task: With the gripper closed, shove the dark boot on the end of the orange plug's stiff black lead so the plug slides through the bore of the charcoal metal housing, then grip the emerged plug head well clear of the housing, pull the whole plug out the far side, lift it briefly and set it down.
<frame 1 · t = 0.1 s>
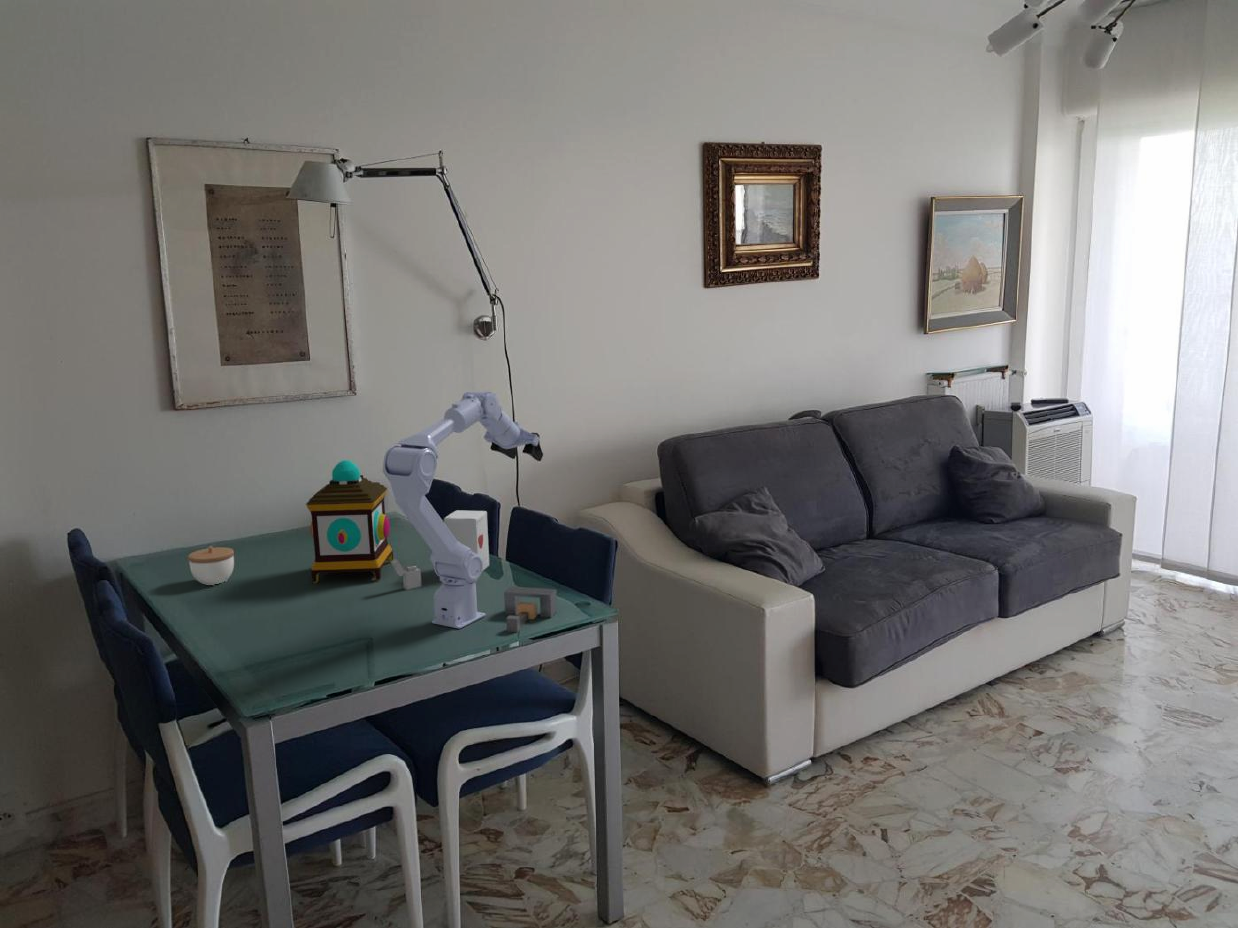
hand: (527, 456, 230), 32 cm above the table, tool tilted 50°, fingers open, 7 cm apart
decorative lantern: (354, 573, 249), on the table
supplement box: (468, 570, 249), on the table
housing: (531, 613, 215), on the table
lidded jar: (214, 582, 244), on the table
plug: (527, 616, 213), on the table
lighter: (407, 589, 235), on the table
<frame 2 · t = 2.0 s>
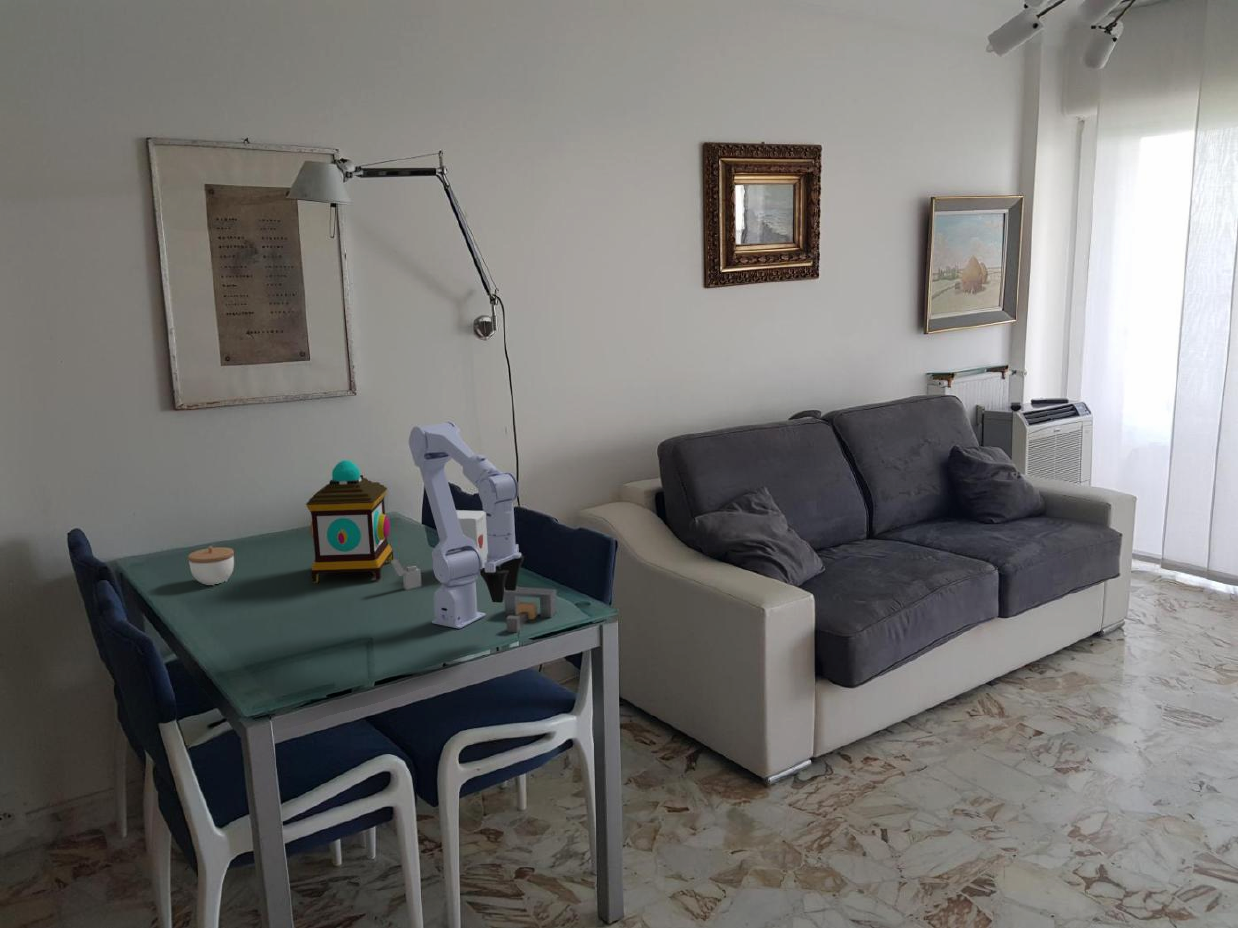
hand: (504, 595, 198), 10 cm above the table, tool pointing down, fingers open, 7 cm apart
nothing on the table moved.
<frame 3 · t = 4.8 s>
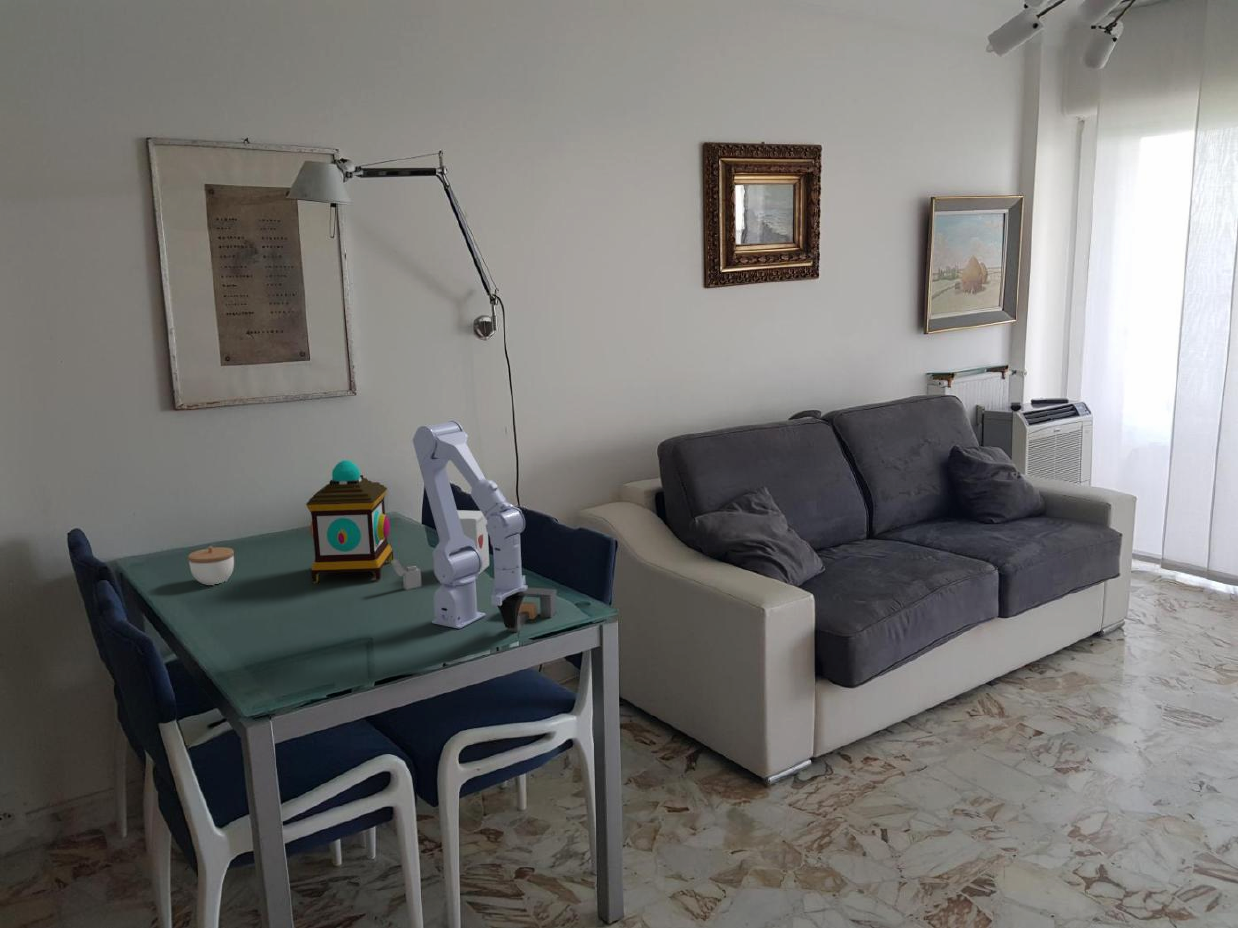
hand: (510, 626, 203), 1 cm above the table, tool pointing down, fingers closed
plug: (527, 616, 213), on the table, touching gripper
everything else where it was.
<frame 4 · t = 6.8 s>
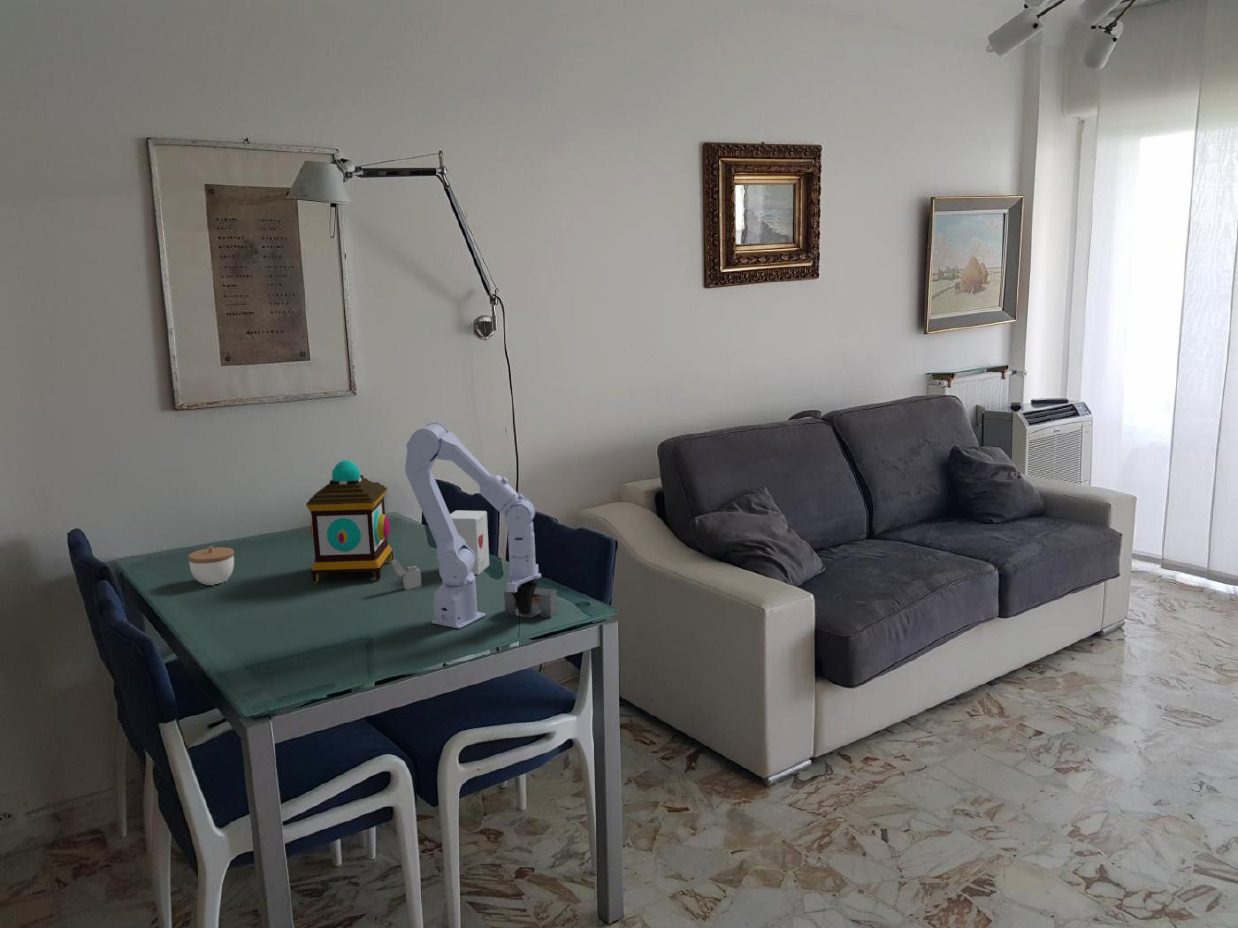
hand: (524, 613, 211), 1 cm above the table, tool pointing down, fingers closed
plug: (540, 603, 221), on the table, touching gripper
everything else where it was.
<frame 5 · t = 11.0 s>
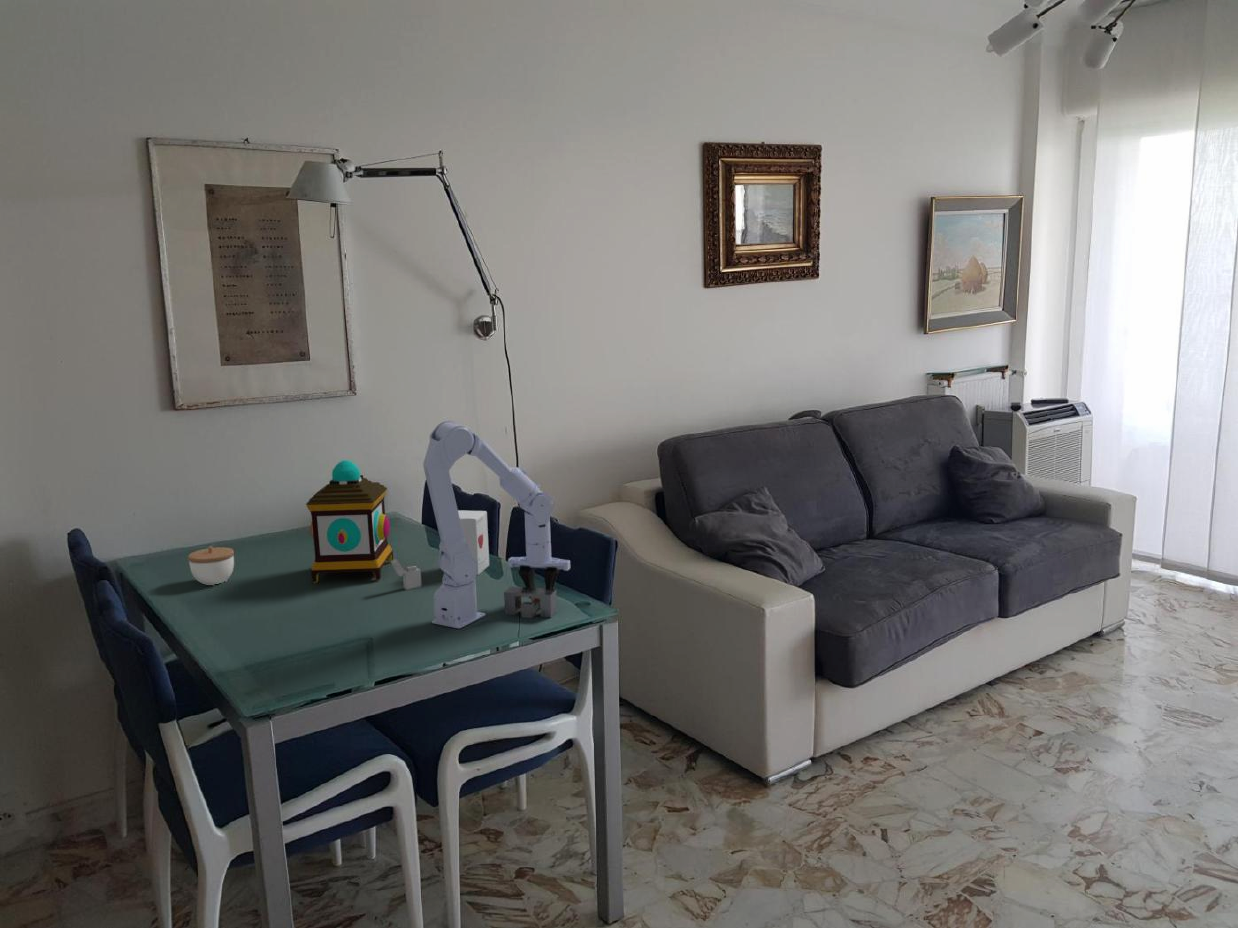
hand: (540, 597, 221), 1 cm above the table, tool pointing down, fingers closed on plug, 4 cm apart
plug: (540, 603, 221), on the table, touching gripper
everything else where it was.
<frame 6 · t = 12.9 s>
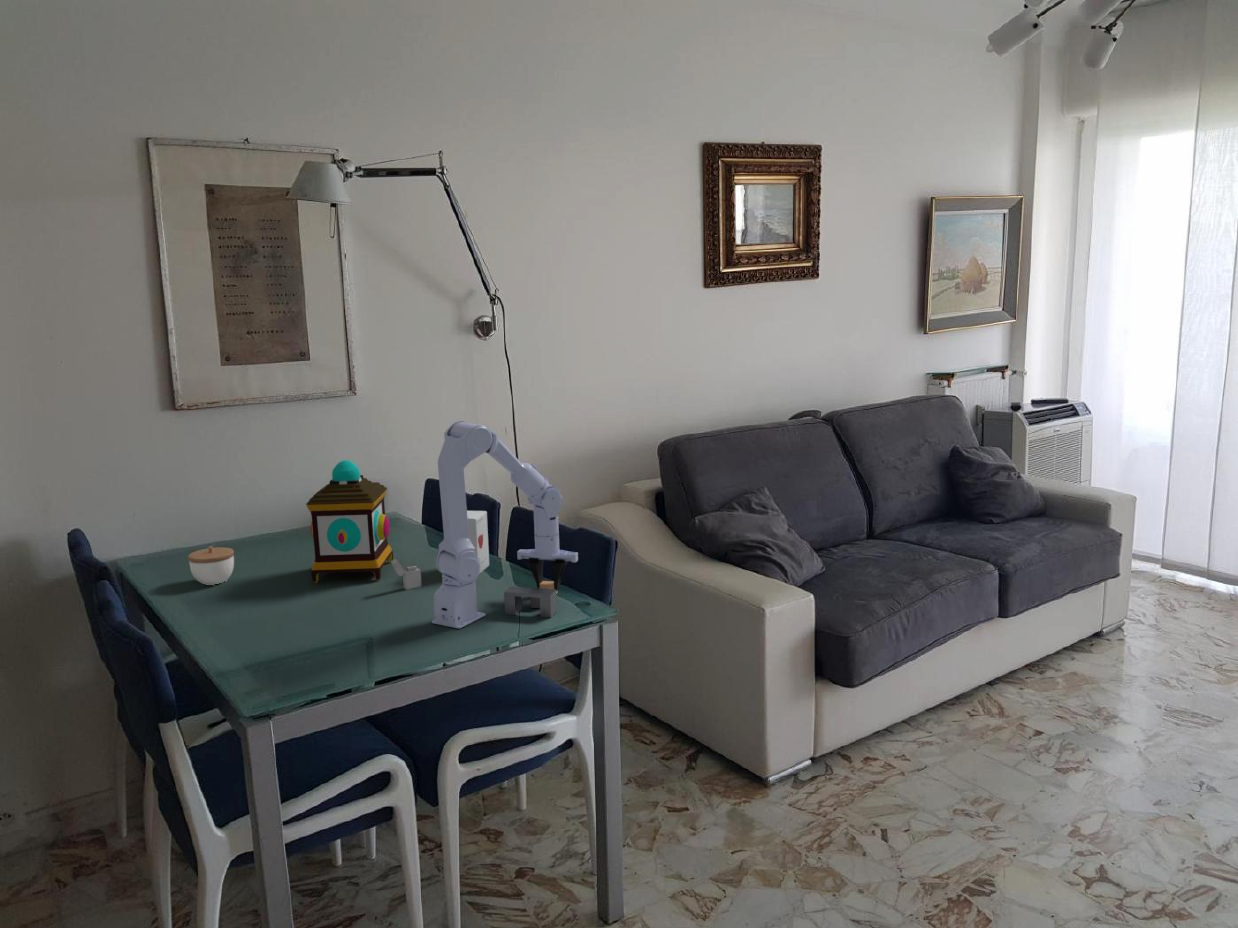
hand: (548, 589, 227), 2 cm above the table, tool pointing down, fingers closed on plug, 4 cm apart
plug: (548, 594, 227), on the table, touching gripper
everything else where it was.
when the fingers open (2 cm above the table, at t = 15.2 s): plug drops 1 cm, on the table.
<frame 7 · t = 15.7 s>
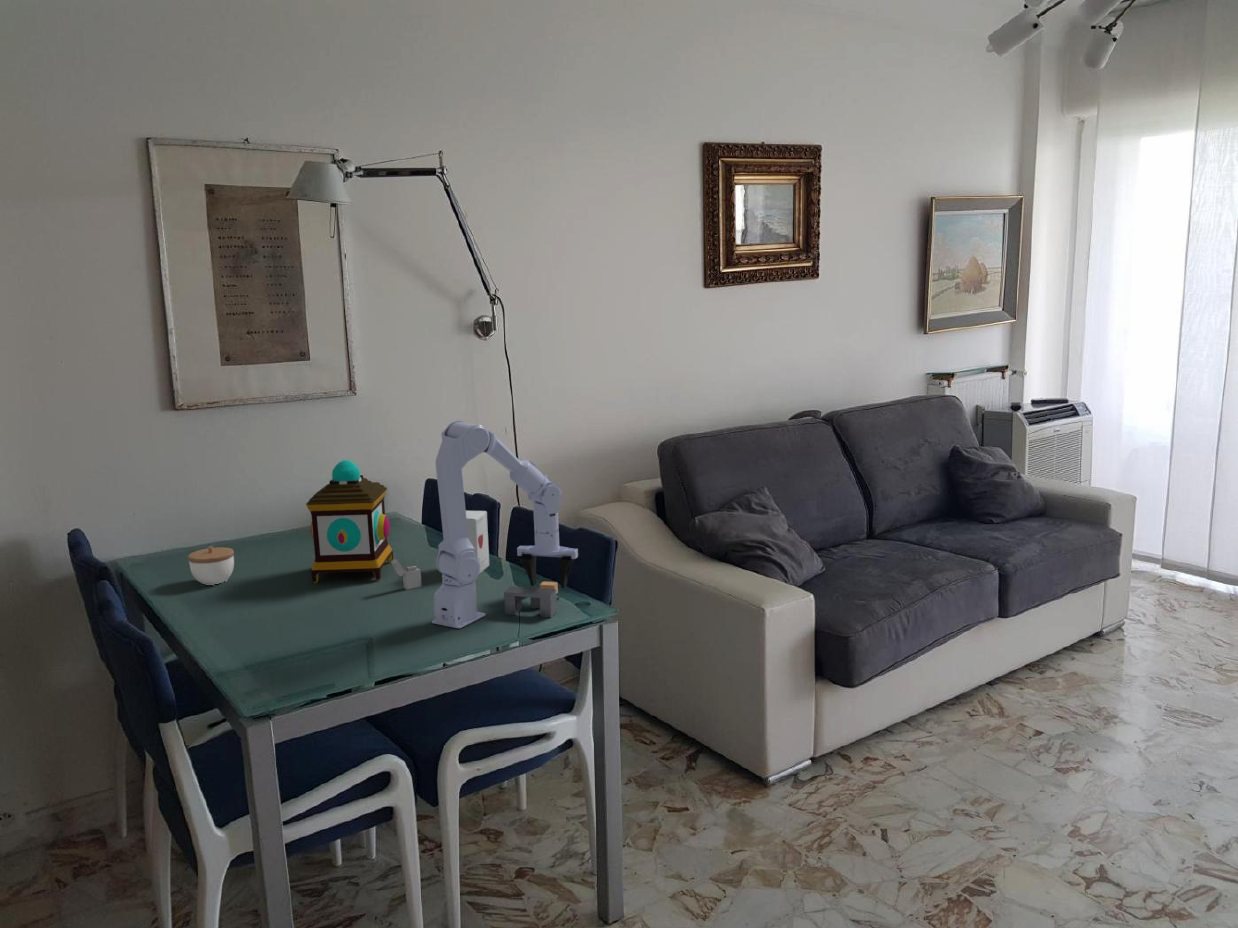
hand: (548, 585, 227), 2 cm above the table, tool pointing down, fingers open, 7 cm apart
plug: (549, 595, 227), on the table
everything else where it was.
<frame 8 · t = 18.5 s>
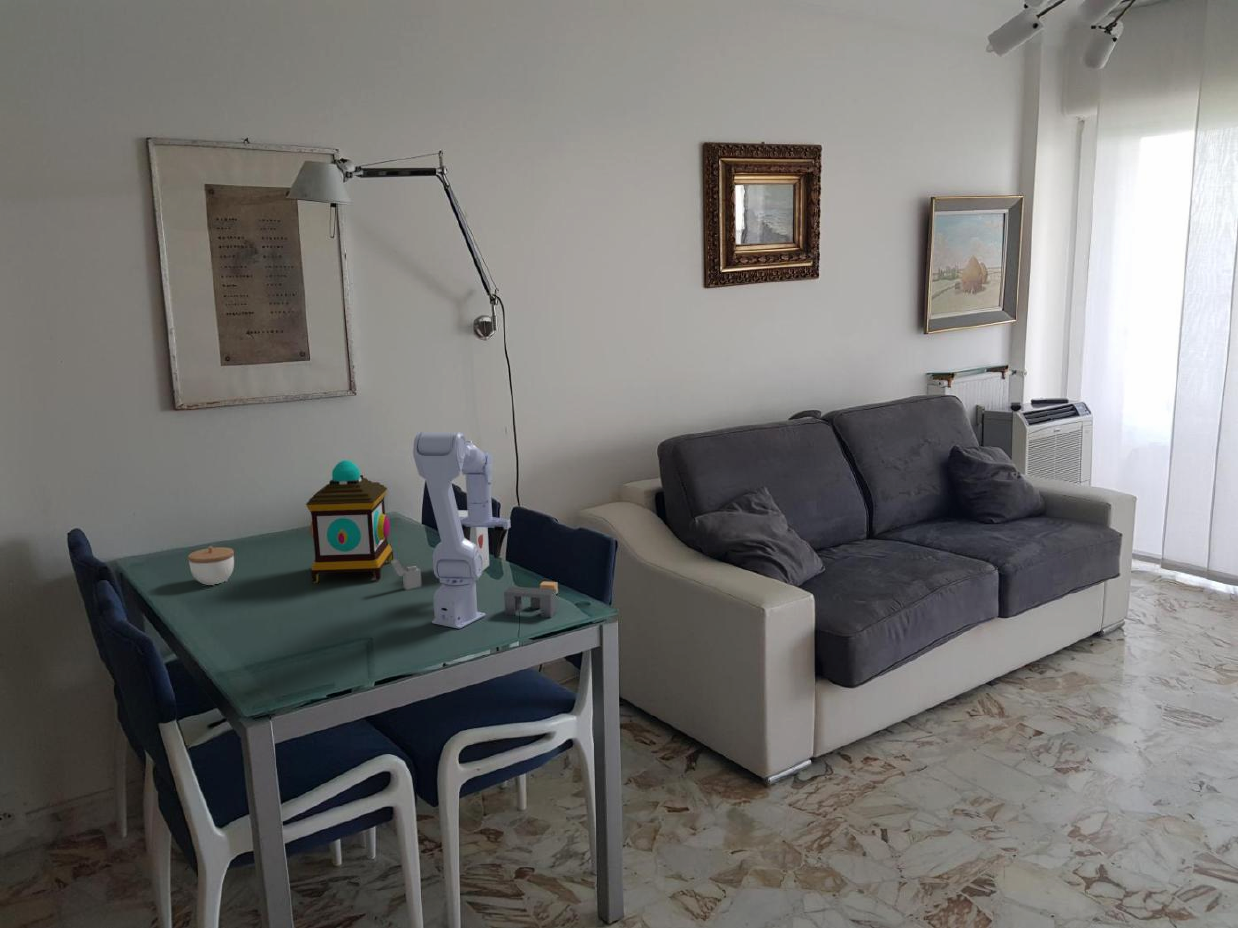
hand: (482, 556, 228), 9 cm above the table, tool pointing down, fingers open, 7 cm apart
nothing on the table moved.
at the end: plug 1.2 cm from the target spot, on the table; the gripper is holding nothing; plug tilted 0° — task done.
